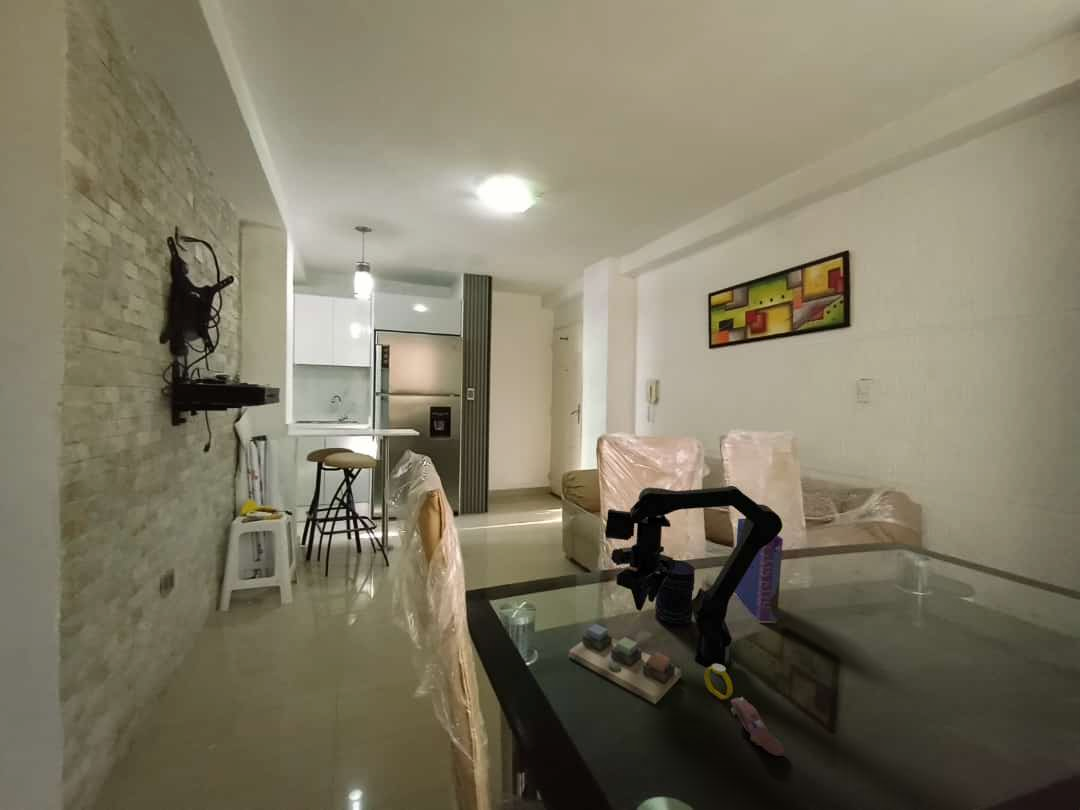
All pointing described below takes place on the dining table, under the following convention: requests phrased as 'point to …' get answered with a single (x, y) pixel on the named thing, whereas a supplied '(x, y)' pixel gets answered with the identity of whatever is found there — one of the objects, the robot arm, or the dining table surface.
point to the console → (625, 667)
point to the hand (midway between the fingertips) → (645, 605)
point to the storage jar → (676, 597)
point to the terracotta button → (659, 662)
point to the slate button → (597, 632)
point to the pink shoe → (756, 726)
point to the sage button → (626, 646)
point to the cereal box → (762, 580)
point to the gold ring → (722, 670)
